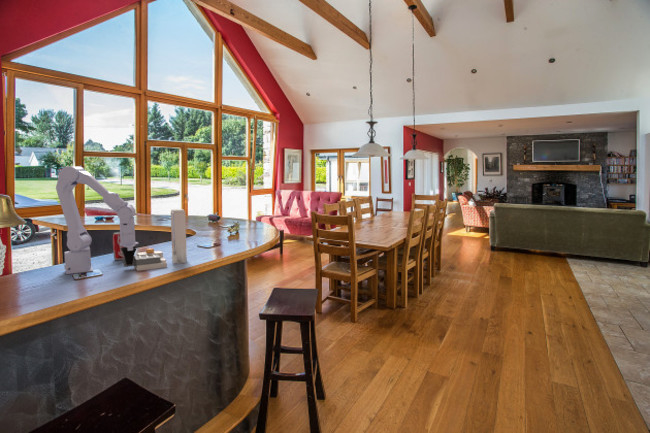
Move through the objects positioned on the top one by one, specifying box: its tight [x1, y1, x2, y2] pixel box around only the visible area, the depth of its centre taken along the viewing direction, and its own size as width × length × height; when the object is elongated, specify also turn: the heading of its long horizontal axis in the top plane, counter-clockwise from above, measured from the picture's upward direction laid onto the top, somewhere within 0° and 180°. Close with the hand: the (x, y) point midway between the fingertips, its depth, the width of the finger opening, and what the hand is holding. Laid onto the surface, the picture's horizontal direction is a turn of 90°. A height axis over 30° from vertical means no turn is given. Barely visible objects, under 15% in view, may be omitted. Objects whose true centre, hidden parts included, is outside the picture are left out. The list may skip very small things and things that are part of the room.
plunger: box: [145, 248, 155, 254], centre depth 176 cm, size 3×3×5 cm
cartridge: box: [123, 254, 161, 268], centre depth 169 cm, size 14×6×4 cm, turn 124°
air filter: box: [170, 208, 188, 265], centre depth 178 cm, size 6×6×25 cm
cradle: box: [134, 250, 168, 272], centre depth 172 cm, size 12×14×5 cm
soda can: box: [112, 231, 125, 261], centre depth 183 cm, size 7×7×13 cm
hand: (129, 264), depth 166 cm, fingers closed on cartridge, 2 cm apart
